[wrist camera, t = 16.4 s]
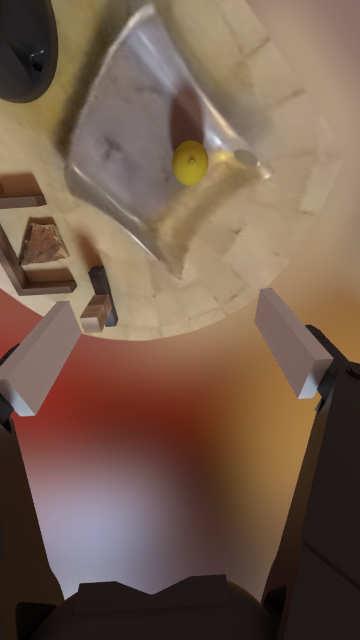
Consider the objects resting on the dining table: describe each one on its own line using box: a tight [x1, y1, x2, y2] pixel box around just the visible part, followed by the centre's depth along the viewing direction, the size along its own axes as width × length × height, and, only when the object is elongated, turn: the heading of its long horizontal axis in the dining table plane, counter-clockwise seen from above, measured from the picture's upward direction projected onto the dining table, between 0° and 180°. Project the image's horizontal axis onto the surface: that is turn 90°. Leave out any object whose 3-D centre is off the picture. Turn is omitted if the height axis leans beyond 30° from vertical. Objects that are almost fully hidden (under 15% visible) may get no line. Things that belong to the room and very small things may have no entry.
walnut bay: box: [0, 195, 77, 296], centre depth 41 cm, size 18×12×3 cm, turn 3°
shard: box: [18, 222, 69, 266], centre depth 42 cm, size 11×8×2 cm
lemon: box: [172, 140, 208, 185], centre depth 32 cm, size 6×6×8 cm
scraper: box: [79, 266, 118, 333], centre depth 44 cm, size 14×3×12 cm, turn 3°
